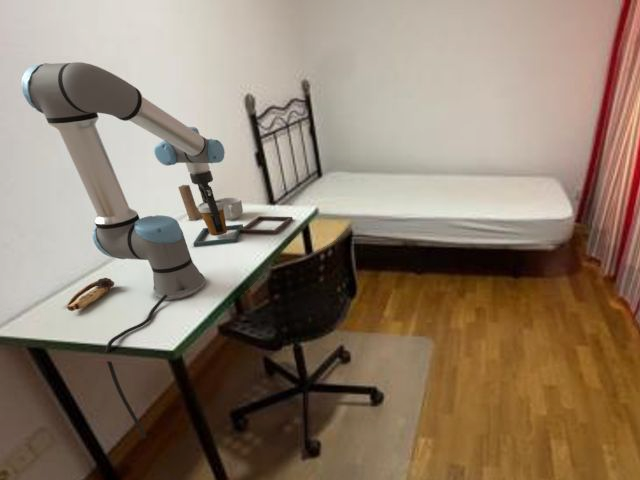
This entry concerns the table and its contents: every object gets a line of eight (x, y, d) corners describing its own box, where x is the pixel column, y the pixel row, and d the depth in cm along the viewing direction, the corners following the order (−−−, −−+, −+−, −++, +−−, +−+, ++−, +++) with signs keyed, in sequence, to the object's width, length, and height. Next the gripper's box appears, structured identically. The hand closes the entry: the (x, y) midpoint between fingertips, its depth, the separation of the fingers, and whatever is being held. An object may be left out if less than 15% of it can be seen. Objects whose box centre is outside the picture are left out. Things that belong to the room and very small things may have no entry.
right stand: (276, 234, 183) (275, 231, 182) (240, 233, 186) (239, 229, 185) (293, 220, 196) (292, 216, 195) (259, 219, 199) (258, 216, 198)
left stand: (236, 242, 178) (235, 238, 177) (194, 246, 176) (193, 243, 175) (243, 227, 191) (242, 224, 190) (204, 231, 189) (203, 228, 189)
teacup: (220, 215, 205) (215, 198, 201) (245, 211, 208) (241, 194, 204) (219, 225, 194) (213, 207, 190) (245, 222, 197) (240, 204, 192)
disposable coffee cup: (235, 228, 186) (227, 199, 180) (224, 237, 178) (215, 208, 172) (213, 228, 187) (204, 200, 181) (201, 237, 179) (192, 208, 173)
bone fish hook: (98, 286, 152) (54, 314, 137) (92, 274, 149) (46, 301, 134) (122, 286, 150) (80, 314, 135) (116, 274, 148) (73, 301, 133)
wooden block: (195, 220, 201) (184, 187, 193) (189, 220, 202) (177, 187, 194) (204, 215, 207) (193, 182, 199) (198, 215, 207) (187, 182, 199)
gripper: (216, 175, 164) (233, 233, 176) (204, 164, 179) (220, 219, 191) (195, 179, 160) (213, 238, 172) (184, 168, 175) (202, 223, 187)
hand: (217, 228), depth 182 cm, fingers closed on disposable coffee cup, 8 cm apart
